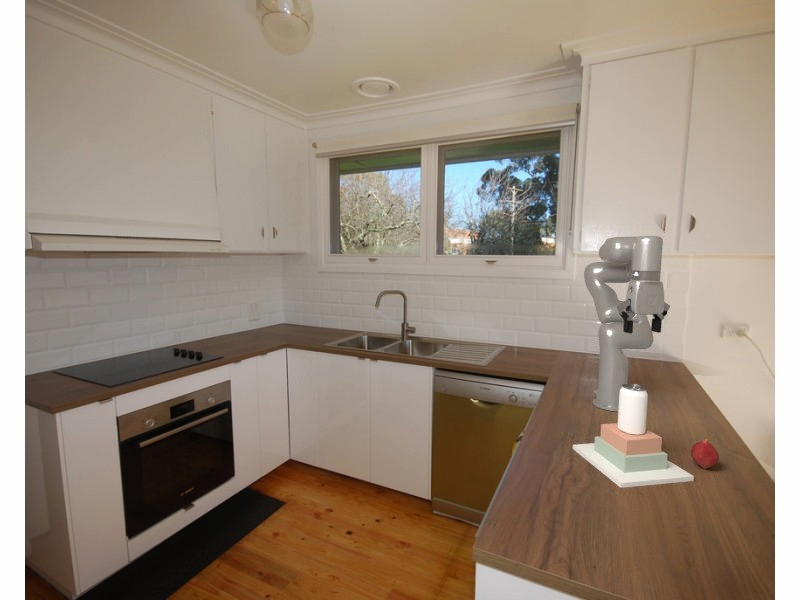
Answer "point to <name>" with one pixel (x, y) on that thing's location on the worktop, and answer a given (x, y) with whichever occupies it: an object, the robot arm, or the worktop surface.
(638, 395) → the can
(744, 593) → the worktop surface
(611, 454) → the tiered block pedestal
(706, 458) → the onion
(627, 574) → the worktop surface
